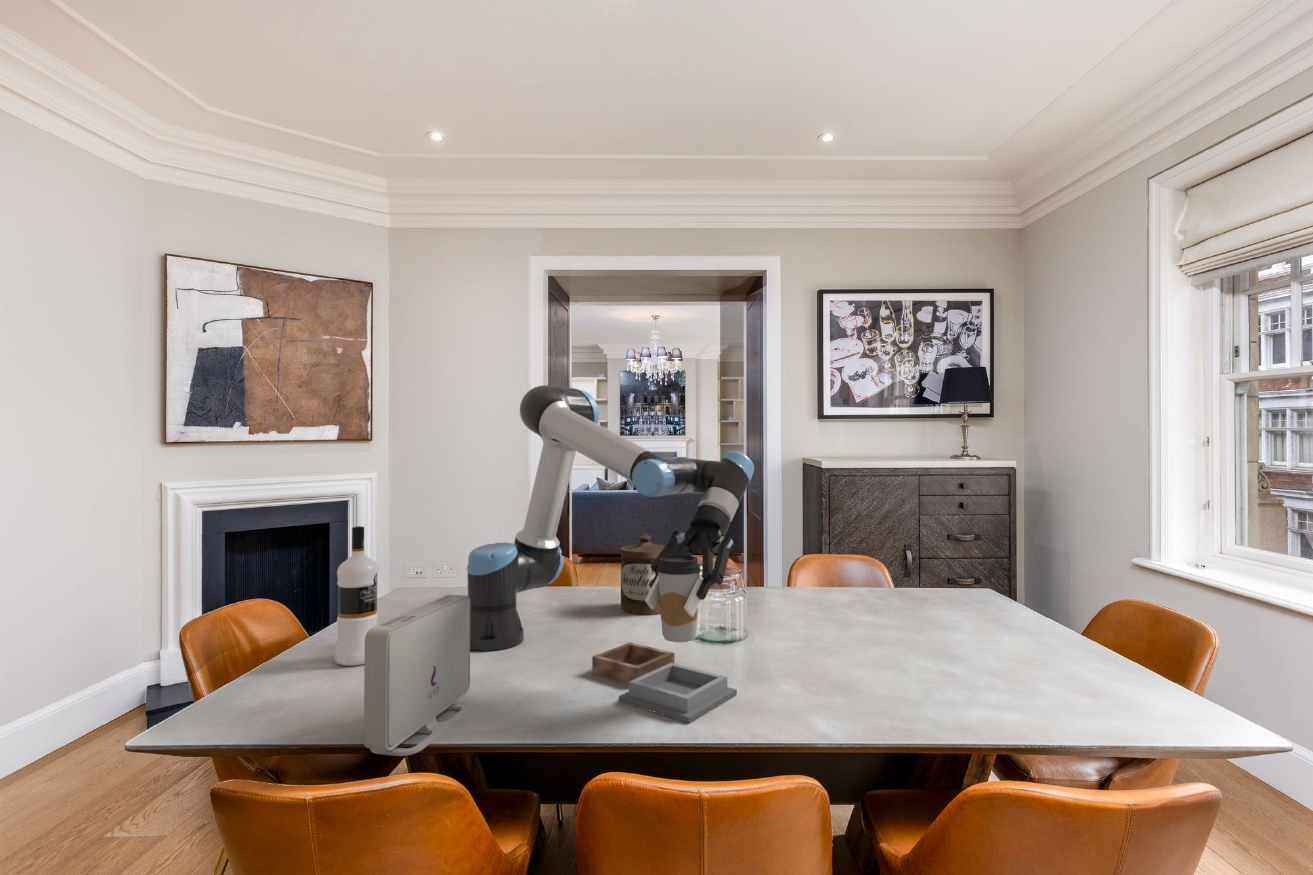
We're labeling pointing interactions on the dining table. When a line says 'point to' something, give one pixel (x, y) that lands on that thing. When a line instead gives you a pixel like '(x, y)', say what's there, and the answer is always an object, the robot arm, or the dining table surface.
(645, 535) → the wooden container
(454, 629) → the network device
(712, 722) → the dining table surface
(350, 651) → the vodka
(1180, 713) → the dining table surface
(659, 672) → the dock pad
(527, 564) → the robot arm
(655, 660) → the walnut holder
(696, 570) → the coffee cup
